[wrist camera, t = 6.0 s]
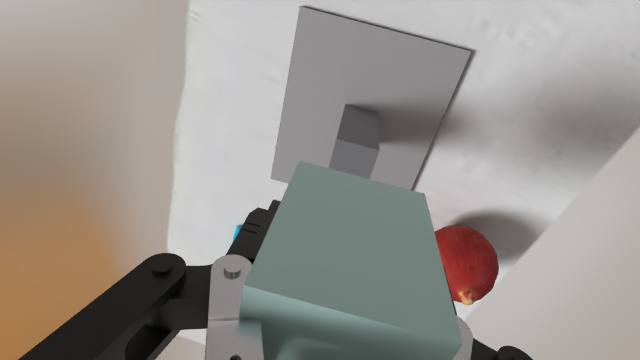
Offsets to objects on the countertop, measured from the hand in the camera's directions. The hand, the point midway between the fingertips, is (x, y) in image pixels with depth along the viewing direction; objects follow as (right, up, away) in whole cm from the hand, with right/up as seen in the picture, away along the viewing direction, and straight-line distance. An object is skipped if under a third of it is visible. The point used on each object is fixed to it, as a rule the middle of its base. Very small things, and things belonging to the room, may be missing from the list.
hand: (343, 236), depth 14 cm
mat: (+2, +7, +12) cm, 14 cm away
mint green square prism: (0, 0, +1) cm, 1 cm away
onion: (+11, -2, +16) cm, 20 cm away
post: (+2, +7, +12) cm, 14 cm away
